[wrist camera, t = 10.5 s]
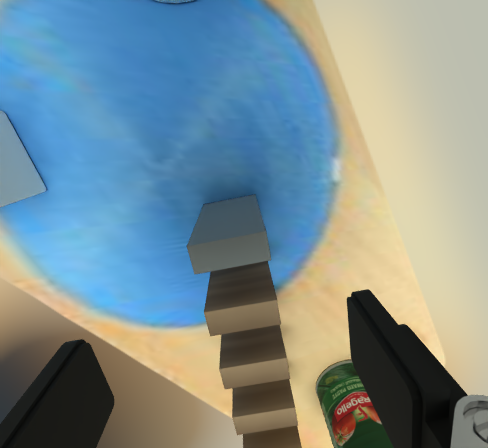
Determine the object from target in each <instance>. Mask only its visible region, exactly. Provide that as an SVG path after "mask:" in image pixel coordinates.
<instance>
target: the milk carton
mask: <svg viewBox="0 0 488 448" xmlns="http://www.w3.org/2000/svg"><path fill="white" fill-rule="evenodd" d="M45 191H46V187H45V185H44V183H43V181H42V180H41V178H40V176H39V174H38V172H37V170H36V169H35V167H34V165H33V163H32V161H31V159H30V158H29V156H28V154H27V152H26V150H25V148H24V147H23V145H22V143H21V141H20V139H19V137H18V136H17V134H16V132H15V130H14V128H13V126H12V125H11V123H10V121H9V119H8V117H7V116H6V114H5V113H4V112H3V111H0V207H3V206H6V205H8V204H11V203H14V202H17V201H20V200H23V199H26V198H28V197H31V196H34V195H37V194H40V193H43V192H45Z"/></svg>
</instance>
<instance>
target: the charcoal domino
mask: <svg viewBox="0 0 488 448" xmlns="http://www.w3.org/2000/svg"><path fill="white" fill-rule="evenodd" d="M187 249H188V253H189V256H190V260H191V263H192V267H193V270H194V274H200V273H205V272H210V271H216V270H221V269H226V268H232V267H237V266H242V265H248V264H253V263H259V262H264V261H269V260H271V256H270V250H269V244H268V239H267V233H266V229H265V226H264V222H263V219H262V215H261V212H260V209H259V205H258V202H257V199H256V195H255V194H254V195H249V196H244V197H239V198H233V199H228V200H223V201H218V202H213V203H208V204H203V207H202V209H201V212H200V214H199V217H198V219H197V222H196V224H195V227H194V229H193V232H192V234H191V237H190V239H189V242H188V244H187Z"/></svg>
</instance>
